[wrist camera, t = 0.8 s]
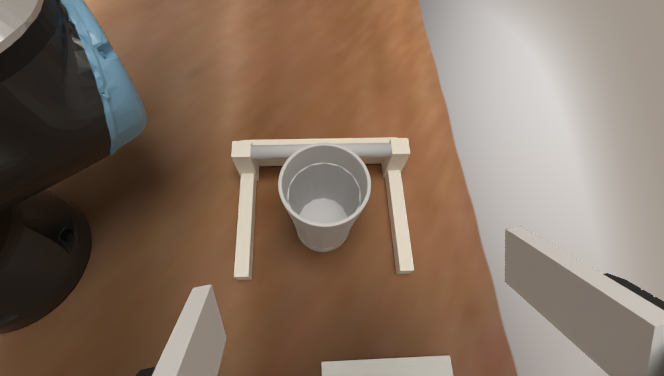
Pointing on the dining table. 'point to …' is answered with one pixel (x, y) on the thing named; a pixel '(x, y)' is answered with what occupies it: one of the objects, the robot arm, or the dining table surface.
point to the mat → (390, 367)
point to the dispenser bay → (276, 154)
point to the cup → (324, 193)
